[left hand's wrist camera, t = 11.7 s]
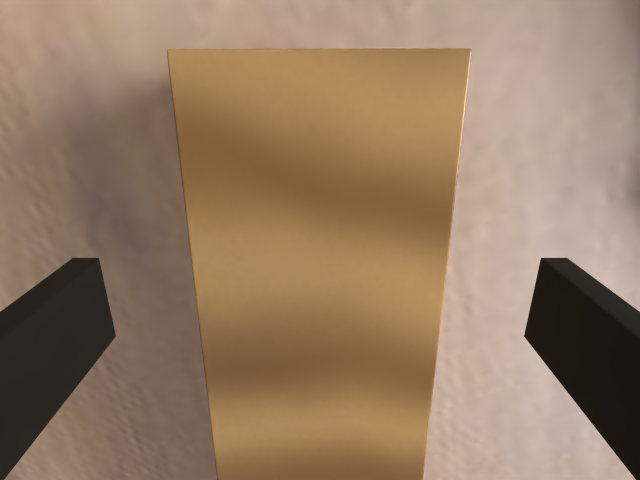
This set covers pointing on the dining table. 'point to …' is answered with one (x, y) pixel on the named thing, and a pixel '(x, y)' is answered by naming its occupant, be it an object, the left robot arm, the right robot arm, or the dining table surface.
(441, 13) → the dining table surface
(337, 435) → the thick board
